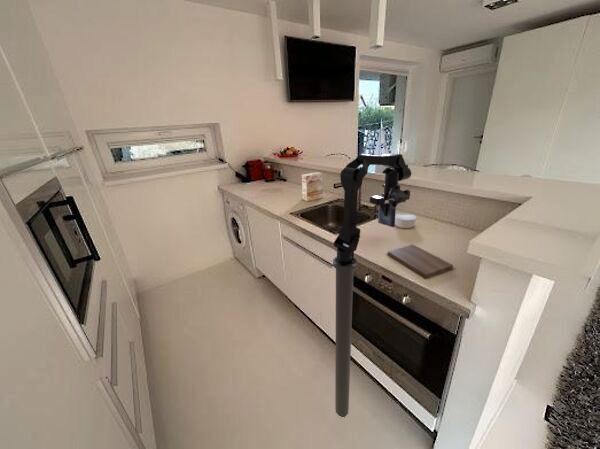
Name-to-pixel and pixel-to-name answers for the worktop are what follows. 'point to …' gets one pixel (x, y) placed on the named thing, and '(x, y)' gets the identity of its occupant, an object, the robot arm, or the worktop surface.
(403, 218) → the ramekin
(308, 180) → the coffeecake box
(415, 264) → the serving board
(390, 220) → the flask
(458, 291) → the worktop surface
